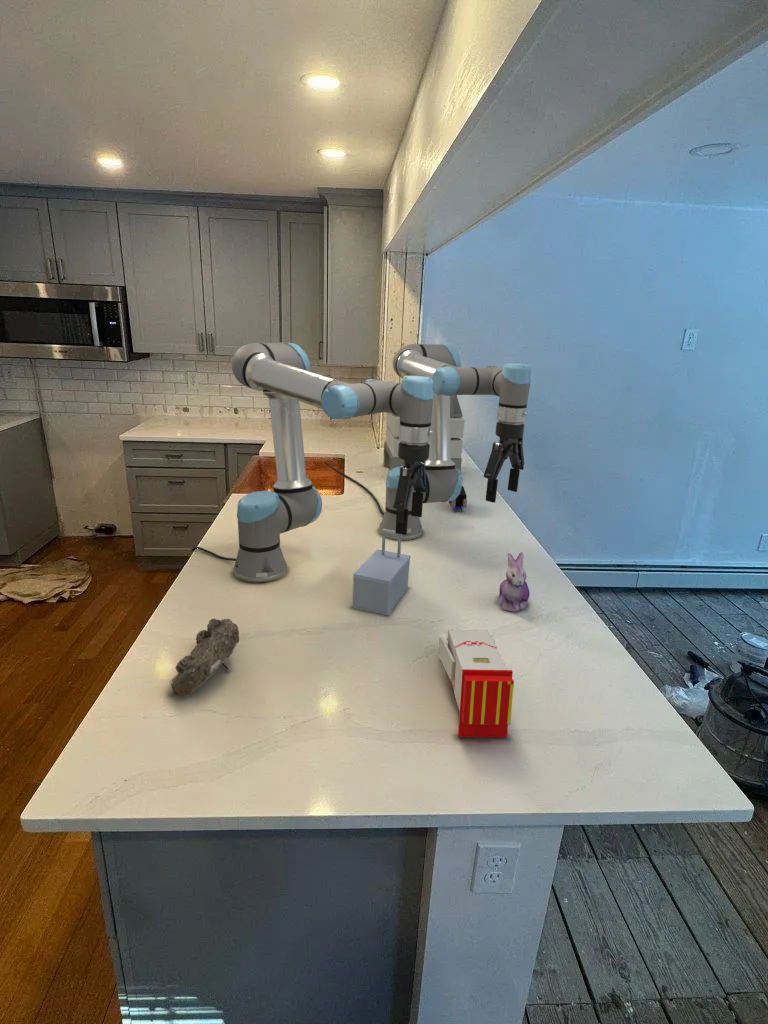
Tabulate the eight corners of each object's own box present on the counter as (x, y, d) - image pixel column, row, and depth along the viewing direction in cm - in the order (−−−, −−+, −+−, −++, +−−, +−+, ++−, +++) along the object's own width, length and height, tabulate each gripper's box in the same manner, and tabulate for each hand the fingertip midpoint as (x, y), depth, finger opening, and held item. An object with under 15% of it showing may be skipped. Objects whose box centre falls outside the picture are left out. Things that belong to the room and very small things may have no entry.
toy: (488, 613, 130) (523, 677, 101) (484, 667, 133) (517, 744, 104) (435, 612, 130) (455, 676, 101) (432, 666, 133) (451, 743, 103)
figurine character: (467, 516, 223) (461, 500, 237) (469, 499, 220) (463, 483, 233) (450, 516, 223) (446, 499, 236) (452, 498, 220) (447, 483, 233)
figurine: (511, 616, 149) (518, 564, 143) (487, 598, 157) (493, 549, 152) (539, 609, 153) (547, 558, 148) (514, 592, 161) (521, 544, 156)
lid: (377, 552, 162) (378, 524, 159) (410, 558, 159) (412, 530, 156) (353, 577, 146) (354, 546, 144) (389, 585, 143) (390, 553, 141)
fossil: (193, 621, 132) (239, 591, 127) (222, 649, 135) (268, 620, 130) (150, 689, 112) (202, 656, 107) (184, 719, 115) (237, 689, 110)
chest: (375, 581, 165) (376, 553, 162) (407, 587, 162) (409, 559, 159) (352, 607, 149) (353, 577, 147) (387, 615, 146) (389, 585, 143)
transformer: (382, 463, 289) (386, 382, 275) (445, 464, 293) (451, 384, 279) (390, 482, 257) (394, 392, 243) (460, 483, 261) (468, 394, 247)
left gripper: (415, 455, 124) (409, 544, 131) (441, 434, 146) (435, 511, 154) (382, 451, 126) (378, 539, 133) (413, 431, 149) (409, 507, 156)
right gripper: (502, 430, 143) (492, 509, 150) (542, 418, 162) (532, 489, 169) (476, 425, 147) (468, 502, 155) (518, 414, 166) (509, 483, 173)
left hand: (409, 524), depth 144 cm, fingers open, 13 cm apart
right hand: (501, 496), depth 162 cm, fingers open, 13 cm apart
